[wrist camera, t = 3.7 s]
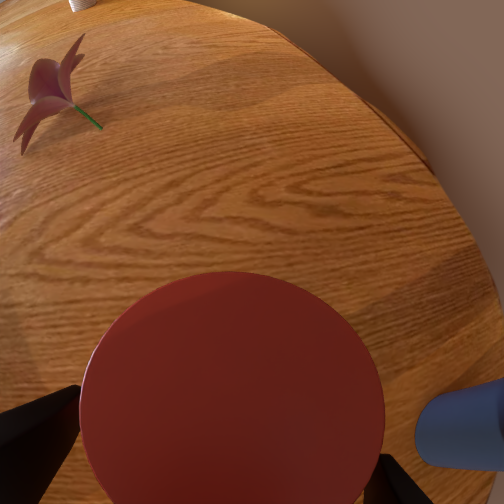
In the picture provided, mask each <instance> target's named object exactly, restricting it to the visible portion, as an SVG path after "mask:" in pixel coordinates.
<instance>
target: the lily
mask: <svg viewBox="0 0 504 504" xmlns="http://www.w3.org/2000/svg"><path fill="white" fill-rule="evenodd" d="M84 35H85V33H84V34H83V35H82V36H81V37H80V38H79V39H78V40H77V41H76V42H75V44H74V45H73V46H72V47H71V49H70V50H69V51H68V53H67V54H66V56H65V57H64V59H63V61H62V62H61V65H59V63H58V62H56V61H54V60H51V59H46V58H45V59H39V60H37V61H36V62H35V64H34V65H33V67H32V71H31V74H30V79H29V87H28V93H29V99H30V101H31V103H32V104H33V106H32V107H31V108H30V110H29V111H28V113H27V114H26V116H25V117H24V119H23V121H22V122H21V124H20V126H19V128H18V130H17V132H16V134H15V137H14V140H13V142H14V141H15V140H17V139H18V138H19V137H20V136H21V135H22V134H23V133H24V135H23V138H22V144H21V156H23V154H24V152H25V150H26V148H27V146H28V143H29V141H30V139H31V137H32V135H33V133H34V131H35V129H36V128H37V126H38V124H39V123H40V121H41V120H43V119H45V118H47V117H50V116H53V115H56V114H59V113H60V111H61V110H63V109H65V108H68V107H73V108H74V109H76V110H77V111H79V112H80V113H81V114H83V115H84V116H85V117H86V118H87V119H89V120H90V121H91V122H92V123H93V124H94V125H95V126H97V127H98V128H99V129H100V130H102V129H103V128H102V127H101V126H100V125H99V124H98V123H97V122H96V121H95V120H93V119H92V118H91V117H90V116H89V115H88V114H87V113H85V112H84V111H83V110H81V109H80V108H79V107H78V106H76V105H75V104H74V103H73V101H72V96H71V86H70V74H71V72H72V71H73V70H74V69H75V67H76V66H77V65H78V64H79V63H80V61H81V60H82V59H83V57H84V56H85V55H84V54H78V55H76V56H75V54H76V52H77V50H78V47H79V45H80V43H81V41H82V39H83V37H84Z"/></svg>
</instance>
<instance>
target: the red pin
mask: <svg viewBox="0 0 504 504" xmlns="http://www.w3.org/2000/svg"><path fill="white" fill-rule="evenodd" d="M79 420H80V430H81V436H82V442H83V446H84V449H85V452H86V456H87V459H88V462H89V464H90V466H91V468H92V470H93V472H94V475H95V477H96V479H97V480H98V482H99V484H100V485H101V487H102V488H103V490H104V491H105V493H106V494H107V496H108V497H109V498H110V499H111V500H112V502H113V503H114V504H353V503H354V502H355V501H356V500H357V499H358V497H359V496H360V494H361V493H362V491H363V490H364V488H365V487H366V485H367V483H368V482H369V480H370V478H371V476H372V473H373V471H374V469H375V467H376V464H377V462H378V458H379V455H380V451H381V448H382V444H383V437H384V430H385V404H384V397H383V390H382V386H381V382H380V379H379V375H378V372H377V369H376V367H375V365H374V362H373V360H372V358H371V355H370V353H369V352H368V350H367V348H366V347H365V345H364V343H363V342H362V340H361V338H360V337H359V336H358V335H357V333H356V332H355V331H354V330H353V328H352V327H351V326H350V325H349V323H348V322H347V321H346V320H345V319H344V318H343V317H342V316H341V315H339V314H338V313H337V312H336V311H335V310H334V309H333V308H331V307H330V306H329V305H328V304H326V303H325V302H324V301H322V300H321V299H320V298H318V297H316V296H314V295H313V294H311V293H309V292H308V291H306V290H304V289H302V288H300V287H297V286H295V285H293V284H291V283H288V282H286V281H283V280H279V279H276V278H273V277H269V276H265V275H259V274H254V273H246V272H212V273H206V274H200V275H194V276H190V277H187V278H183V279H180V280H176V281H174V282H171V283H169V284H167V285H164V286H162V287H160V288H157V289H156V290H154V291H152V292H151V293H149V294H147V295H145V296H144V297H142V298H141V299H139V300H138V301H137V302H135V303H134V304H133V305H131V306H130V307H129V308H127V309H126V310H125V311H124V312H123V313H122V314H121V315H120V316H119V317H118V318H117V319H116V320H115V321H114V322H113V323H112V325H111V326H110V327H109V329H108V330H107V331H106V332H105V334H104V335H103V336H102V338H101V340H100V341H99V343H98V345H97V346H96V348H95V350H94V352H93V354H92V356H91V359H90V361H89V363H88V366H87V368H86V371H85V375H84V379H83V383H82V387H81V394H80V403H79Z"/></svg>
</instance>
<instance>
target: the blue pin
mask: <svg viewBox="0 0 504 504" xmlns="http://www.w3.org/2000/svg"><path fill="white" fill-rule="evenodd" d="M415 443H416V448H417V451H418V453H419V455H420V457H421V458H422V459H423V460H424V461H425V462H426V463H428V464H430V465H432V466H437V467H446V468H455V469H466V470H481V471H504V378H501V379H497V380H494V381H491V382H487V383H484V384H480V385H477V386H473V387H469V388H465V389H461V390H457V391H453V392H449V393H444V394H441V395H439V396H437V397H435V398H434V399H433V400H432V401H430V402H429V403H428V405H427V406H426V407H425V408H424V410H423V411H422V413H421V415H420V417H419V419H418V422H417V426H416V432H415Z"/></svg>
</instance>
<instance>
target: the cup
mask: <svg viewBox="0 0 504 504" xmlns="http://www.w3.org/2000/svg"><path fill="white" fill-rule="evenodd" d="M69 3H70V6H71V9H72V11H73V12H76V11H81V10H84V9H87V8H89V7H91V6H93V5H95V4H96V0H69Z"/></svg>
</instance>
